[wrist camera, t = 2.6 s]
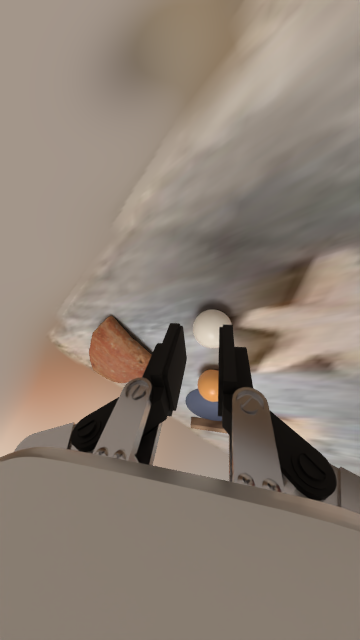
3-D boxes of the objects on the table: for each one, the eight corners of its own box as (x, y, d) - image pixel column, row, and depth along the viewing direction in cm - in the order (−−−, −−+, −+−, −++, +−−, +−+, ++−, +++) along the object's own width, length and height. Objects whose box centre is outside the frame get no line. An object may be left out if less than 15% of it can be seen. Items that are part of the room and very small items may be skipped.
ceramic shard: (58, 356, 37) (104, 319, 31) (79, 341, 42) (121, 307, 37) (108, 404, 40) (157, 377, 35) (121, 383, 46) (165, 357, 41)
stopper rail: (236, 422, 47) (237, 431, 46) (236, 426, 48) (236, 434, 47) (191, 416, 50) (190, 424, 48) (192, 420, 51) (191, 427, 49)
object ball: (234, 374, 37) (236, 401, 32) (213, 385, 40) (212, 411, 35) (213, 359, 36) (211, 384, 31) (193, 371, 39) (189, 396, 34)
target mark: (255, 410, 42) (256, 410, 42) (213, 425, 50) (213, 425, 50) (213, 379, 39) (213, 380, 39) (174, 400, 47) (174, 401, 46)
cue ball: (239, 318, 29) (242, 342, 24) (213, 337, 33) (211, 362, 28) (212, 295, 28) (211, 316, 23) (188, 317, 31) (182, 340, 26)
